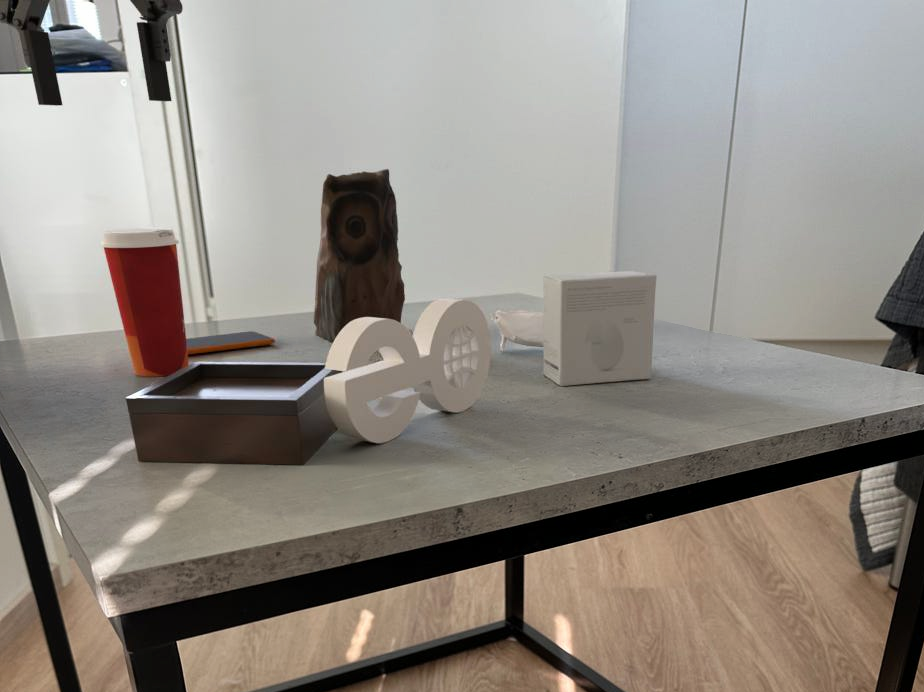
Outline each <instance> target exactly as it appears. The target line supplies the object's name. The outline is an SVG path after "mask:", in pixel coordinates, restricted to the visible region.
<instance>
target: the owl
mask: <svg viewBox="0 0 924 692" xmlns="http://www.w3.org/2000/svg"><path fill="white" fill-rule="evenodd" d="M390 182H391V181H390V170H389V168H384V169H381V170H377V171H372V172H371V171H362V172H350V173H348V174H340V175H337V176H336V175H333V174H330V173H328V174H327V175H326V178H325V179H324V181H323V183H322V193H321V204H320V241H319V249H318V253H317V260H316V275H315V276H316V277H315V295H314V308H313V309H314V312H313V324H314V326H315V336H317V337H320V338H322V339H323V340H327V341H328V342H329V343H332V344H333V342H334V340H335V338H336V337H337V335H338V334H339V332H340V331H341V330H342V329H343V328H344V327H345V326H346V325H347V324H348V323H349V322H351V321H353V320H355V319H358V318H362V317H375V318H385V319H393V320H396V321H398V322H400V323H401V324H402V315H403V310H404V309H403V308H404V303H405V302H406V295H405V283H404V280H403V279H402V269H403V268H402V267H403V266H402V264H401V262H400V260H399V257H400V253H399V247H398V242H399V241H398V240H399V222H398V220H399V219H398V213H397V198H396V194H395V192H394V190H393V187H392V185H391V183H390Z"/></svg>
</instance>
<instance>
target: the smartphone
mask: <svg viewBox="0 0 924 692" xmlns="http://www.w3.org/2000/svg"><path fill="white" fill-rule="evenodd" d="M275 341H276V340H275V338H274V337H271V336H268V335H265V334H263V333H259V332H256V331H253V330H252V331H250V330H249V331H241V332H233V333H224V334H216V335H215V334H214V335H205V336H199V337H189V338H186V342H187V353H188V356H189V355H197V354H206V353H212V352H221V351H228V350H237V349H238V350H239V349H244V348H245V349H246V348H252V347H253V348H254V347H261V346H262V347H263V346H269V345H273V344H274V343H275Z"/></svg>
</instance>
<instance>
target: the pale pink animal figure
mask: <svg viewBox="0 0 924 692" xmlns="http://www.w3.org/2000/svg"><path fill="white" fill-rule="evenodd" d="M490 317H491V321H492V322H494V323H495V325H496V327H497V329H498V330H499V332H500V337H501V342H500V343H499V344H500V346H499V348H498V349H499V351H500V353H501V354H503V353H504V351H505V347H506V341H507V340H508V341H510V342H511V343H515V344H518V345H521V346H526V347H535V348H543V343H544V312H539V311H535V310H529V309H528V310H527V309H526V310H524V309H523V310H504V309H497V310H496V311H495V314H490Z"/></svg>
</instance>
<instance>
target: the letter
mask: <svg viewBox="0 0 924 692" xmlns="http://www.w3.org/2000/svg"><path fill="white" fill-rule="evenodd" d="M377 351H378V353H379V354H380V355H381V357H382V359H383V360H379V361H377V362H373V363H369V361H370V359H371V357H372V356H373V355H374V353H376V352H377ZM491 354H492V339H491V333H490V328H489V324H488V320H487V318H486V316H485V314H484V312H483V311H482V309H481V308H480V306H479V305H478V304H476V303H475V302H473V301H471V300H469V299H459V298H448V297H444V298H438V299H436V300H433V301H432V302H431V303H429V304H428V305H427V307H425V309H424V310H423V311H422V313H421V314H420V316H419V318H418V320H417V321H416V324H415V326H414V329H413V332H412V333H411V332H410V330H409V329H408V328H407V327H406V326H405V325H404V324H403V323H402V322H401V323H400V322H398V321H396V320H393V319H385V318H375V317H362V318H358V319H355V320H353V321H351V322H349V323H348V324H347V325H346V326H345V327H344V328H343V329H342V330H341V331H340V332H339V334H338V335H337V337H336V338H335V340H334V342H333V343H332V344H331V346H330V349H329V352H328V354H327V357H326V361H325V363H326V365H325V369H331V370H339V371H342V373H339V374H336V375H332V376H329V377H326V378H324V392H325V401H326V406H327V409H328V412H329V415H330V417H331V419H332V421H333V422H334V424H335V425H336V427H337V430H339V431H340V432H341V433H342V434H343V435H344V436H346V437H348V438H350V439H353V440H357V441H361V442H362V441H363V442H368V443H375V444H384V443H387V442H390V441H392V440H394V439H396V438H397V437H399V436H400V435H401V434H402V433H403V431H404V430H405V429H406V428H407V427H408V425H409V424H410V422H411V420H412V418H413V416H414V414H415V412H416V410H417V407H418V404H419V401H420V402H421V403H422V404H423V405H424V406H426V407H427V408H428V409H431V410H435V411H441V412H449V413H458V414H459V413H461V412H462V413H463V412H464V411H465V410H467V409H469V408H470V407H471V406H472V405H474V403H475V402H476V401H477V399H478V398H479V397H480V395H481V393H482V391H483V389H484V387H485V385H486V381H487V379H488V375H489V371H490V365H491V358H492V355H491ZM368 363H369V364H368ZM412 387H413V390H408V389H410V388H412ZM377 399H380V400H379V402H378V403H377V405H376V406H375V407H374V408H373V409H370V408H369V407H368V405H367V403H369V402H372V401H374V400H377Z"/></svg>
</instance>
